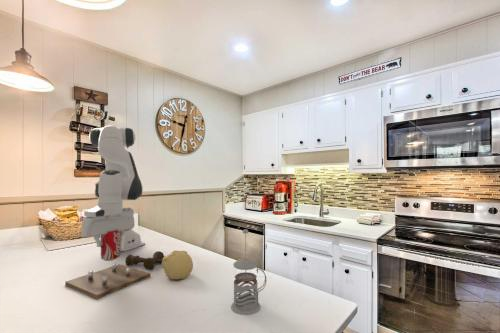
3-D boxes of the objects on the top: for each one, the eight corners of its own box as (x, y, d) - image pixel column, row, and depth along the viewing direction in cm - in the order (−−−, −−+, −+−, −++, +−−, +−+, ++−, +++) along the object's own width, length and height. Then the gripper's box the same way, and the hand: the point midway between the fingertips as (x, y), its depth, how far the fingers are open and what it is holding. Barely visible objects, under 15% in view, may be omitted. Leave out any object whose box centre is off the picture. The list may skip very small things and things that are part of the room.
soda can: (111, 262, 98) (111, 231, 98) (96, 261, 100) (96, 230, 100) (124, 256, 105) (124, 227, 105) (109, 255, 107) (109, 226, 107)
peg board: (119, 267, 117) (119, 257, 117) (150, 276, 106) (150, 266, 106) (65, 285, 98) (65, 273, 98) (96, 299, 87) (96, 286, 87)
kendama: (134, 262, 126) (171, 263, 122) (121, 270, 116) (161, 271, 113) (134, 250, 126) (171, 251, 122) (120, 257, 116) (160, 258, 113)
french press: (230, 299, 86) (230, 226, 87) (264, 298, 87) (263, 225, 88) (230, 315, 76) (230, 233, 77) (268, 314, 77) (268, 232, 78)
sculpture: (181, 269, 114) (181, 245, 115) (198, 276, 107) (198, 250, 107) (158, 277, 105) (158, 251, 106) (174, 285, 98) (174, 257, 98)
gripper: (128, 206, 113) (128, 237, 113) (79, 212, 96) (78, 249, 95) (137, 207, 110) (137, 239, 110) (88, 213, 93) (87, 251, 92)
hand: (109, 244), depth 102 cm, fingers closed on soda can, 7 cm apart
